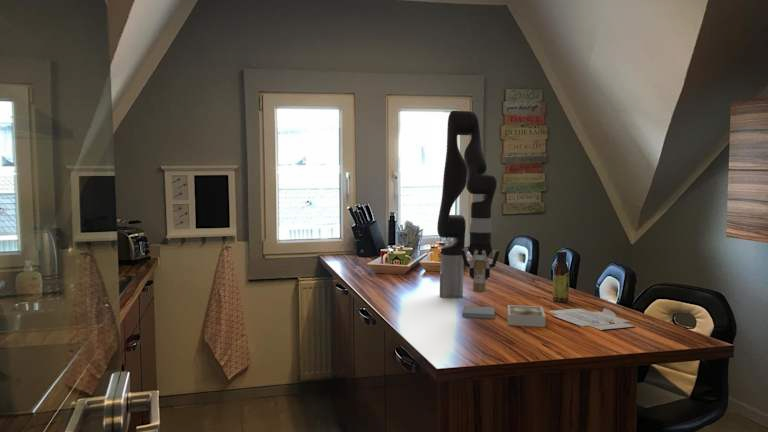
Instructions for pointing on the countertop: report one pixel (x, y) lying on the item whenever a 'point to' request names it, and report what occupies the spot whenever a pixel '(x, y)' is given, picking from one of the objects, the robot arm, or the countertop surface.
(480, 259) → the sprinkles bottle
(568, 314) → the white cloth
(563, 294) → the sauce bottle
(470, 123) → the robot arm
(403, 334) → the countertop surface
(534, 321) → the shallow white open box
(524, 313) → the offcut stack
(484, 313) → the ceramic tile
